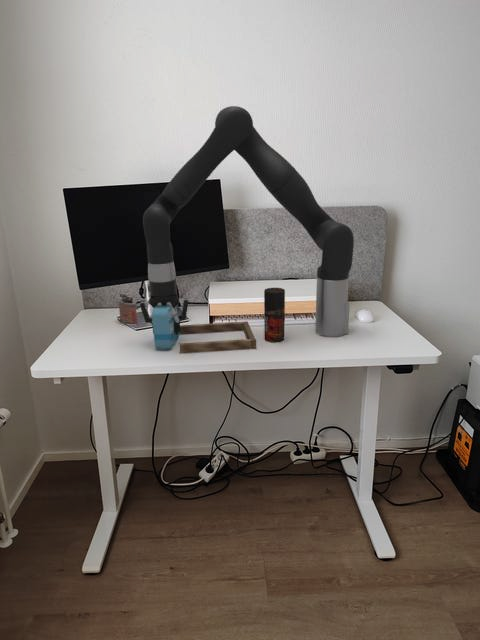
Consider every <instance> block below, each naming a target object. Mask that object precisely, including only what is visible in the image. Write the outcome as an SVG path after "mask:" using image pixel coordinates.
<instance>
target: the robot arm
mask: <svg viewBox="0 0 480 640" xmlns="http://www.w3.org/2000/svg"><path fill="white" fill-rule="evenodd" d="M234 151H235V152H236V153H237V154H238V155H239V156H240V157H241V159H243V160H244V161H245V162H246V164H247V165H248V167H250V169H251V170H252V172H253V173H254V174H255V176H256V177H257V178H258V180H259V181H260V183H262V185H263V186H264V187H265V188H266V190H267V192H269V193H270V194H271V196H272V198H274V199H275V200H276V201H277V202H278V203H279V204H280V205H281V206H282V207H283V208H284V209H285V210H286V211H287V212H288V214H290V215H291V216H293V217H294V219H296V220H297V222H299V223H300V224H301V225H302V227H303V228H304V229H305V231H306V232H307V233H308V235H309V236H310V238H311V239H312V240H313V242H314V243H315V245H316V246H317V247H318V249H320V250H321V251H322V252H321V253H322V256H321V263H320V265H319V266H317V269H316V297H315V298H316V300H315V327H314V328H315V329H314V330H315V332H314V333H316V334H318V335H319V336H321V337H329V338H332V337H333V338H335V337H341V336H343V335H349V326H350V325H349V323H350V303H349V302H348V295H349V277H350V276H349V275H350V271H351V269H352V265H353V256H354V244H355V239H354V238H355V237H354V234H353V231H352V229H351V228H350V227H349V226H348V225H347V224H345V223H341V222H338V221H336V220H335V219H334V218H333V217H332V216H330V215H329V214H328V213H327V212H326V211H325V210H324V209H323V208H322V207H321V205H320V204H319V203H318V201H317V200H316V198H315V196H314V194H313V192H312V190H311V188H310V186H309V185H308V183H307V181H306V179H305V178H304V177H303V176H302V175H301V174H300V172H298V171H297V169H296V168H295V167H294V166H293V165H292V164H291V163H290V162H289V161H288V160H287V159H286V158H285V157H284V156H282V155H281V153H280V152H278V151H276V150H275V149H274V148H273V147H272V146H271V145H269V144H268V143H267V142H266V140H264V138H263V137H262V136H261V135H260V134H259V132H258V131H257V129H256V127H255V126H254V121H253V116H251V114H250V113H249V111H248V110H247V109H246V108H243V107H241V106H238V105H236V106H234V105H231V106H226V107H223V109H221V110H220V111H219V112H218V113H217V115H216V118H215V121H214V128H213V130H212V131H211V133H210V135H209V136H208V138H207V139H206V141H205V142H204V143H203V145H202V146H201V147H200V149H198V150H197V152H196V153H195V154H194V155H193V156H191V158H190V159H189V160H188V161H186V162H185V164H183V166H182V167H180V169H179V170H178V171H177V173H176V174H175V175H174V176H173V177H172V178H171V180H170V181H169V182H168V184H167V185H166V186H165V188H164V189H163V191H162V192H161V194H160V195H159V196H158V197H157V198H156V199H155V200H154V202H153V203H151V205H150V206H149V207H148V208H147V209H146V210H145V211H144V212H143V217H142V224H143V225H142V226H143V231H144V233H143V234H144V238H145V241H146V253H147V263H148V264H147V279H148V285H149V287H148V288H149V299H148V300H145V301H144V300H142V301H140V304H139V306H140V310H141V313H142V317H143V318H144V322H145V323H149V324H151V325H152V327H151V328H153V320H152V316H150V315H149V311H148V309H149V306H151V307H152V309H154V308H155V306H157V307H161V306H163V305H167V306H171V307H172V316H173V317H174V319H175V329H176V335H178V333H179V332H180V325H181V322H182V321H185V320H186V318H187V314H188V307H189V299H188V298H187V297H185V298H182V297H181V298H180V297H179V296H178V289H177V277H176V276H177V274H176V267H175V263H174V251H173V250H174V249H173V244H172V242H171V230H170V227H171V226H170V224H171V222H172V221H173V220H174V218H175V217H176V216H177V214H178V213H179V212H180V211H181V210H182V208H183V207H185V206H186V205H187V204H188V203H189V202H190V201H191V199H193V197H194V195H195V194H196V193H197V192H198V191H199V189H200V188H201V187H202V186H203V185H204V183H205V182H206V181H207V180H208V178H209V177H210V176H211V175H212V174H213V172H214V171H215V170H216V168H218V167H219V165H221V163H222V162H223V161H224V160H225V159H226V158H227V157H228V156H230V154H232V152H234ZM179 303H180V306H181V307H182V310H181V314H180V315H179V313H178V314H177V311H176V309H175V307H176V305H177V306H178V304H179ZM152 333H153V335H154V331H153V330H152Z"/></svg>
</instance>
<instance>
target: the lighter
mask: <svg viewBox="0 0 480 640" xmlns="http://www.w3.org/2000/svg"><path fill="white" fill-rule="evenodd" d="M119 297H120V298H119V299H118V300H117V303H118V308H119V311H118V312H119V323H121V324H122V325H125V326H127V325H126V324H137V323H138V324H139V322H138V315H137V314H138V313H137V302H136V301H134V299H133V298H134V297H133V295H131V293H124V292H120V293H119Z"/></svg>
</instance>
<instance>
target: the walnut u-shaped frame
mask: <svg viewBox="0 0 480 640" xmlns="http://www.w3.org/2000/svg"><path fill="white" fill-rule="evenodd" d="M229 332H243V334H244V335H245V337H246V338H245V339H244V338H243V339H242V338H241V339H228V340H225V339H224V340H213V341H197V342H196V341H195V342H194V341H193V342H180V343H178V346H179V354H181V355H182V354H195V353H199V354H200V353H210V352H211V353H212V352H227V351H243V350H256V349H257V339H256V337H255V334H254V332H253V330H252V328H251V326H250V324H249V322H248V321H247V320H246V321H231V322H230V321H229V322H215V323H214V322H213V323H197V324H194V323H193V324H183V325H181V324H180V332H179V336H180V335H181V336H182V335H197V334H212V333H213V334H214V333H229Z"/></svg>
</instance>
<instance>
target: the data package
mask: <svg viewBox="0 0 480 640" xmlns="http://www.w3.org/2000/svg"><path fill="white" fill-rule="evenodd" d="M175 309H176V311H177V314H178V315H179V312H178V311H179V310H178V304H177V305H176V307H175ZM151 318H152V320H153V327H152V332H153V331H154V334H153V338H154V348H155V350H172V349H173V348H174V346H175V344H176V343H177V341H178V340H179V338H180V335H179V333H178V335H176V329H175V319H174V317H173V316H172V307H171V306H167V305H163V306H161V307H157V306H155V308H152V311H151Z"/></svg>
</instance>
